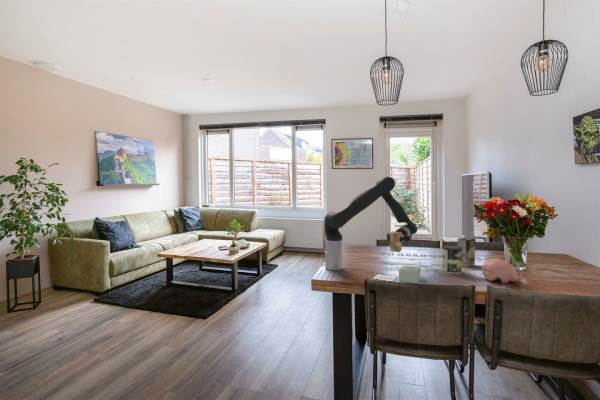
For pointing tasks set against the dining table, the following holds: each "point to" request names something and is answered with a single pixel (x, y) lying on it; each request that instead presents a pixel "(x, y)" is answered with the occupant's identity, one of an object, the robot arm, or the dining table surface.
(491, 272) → the pink piggy bank
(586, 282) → the dining table surface
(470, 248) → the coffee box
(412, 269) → the base brick
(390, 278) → the page
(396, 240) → the tan cylinder
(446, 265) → the coffee can
